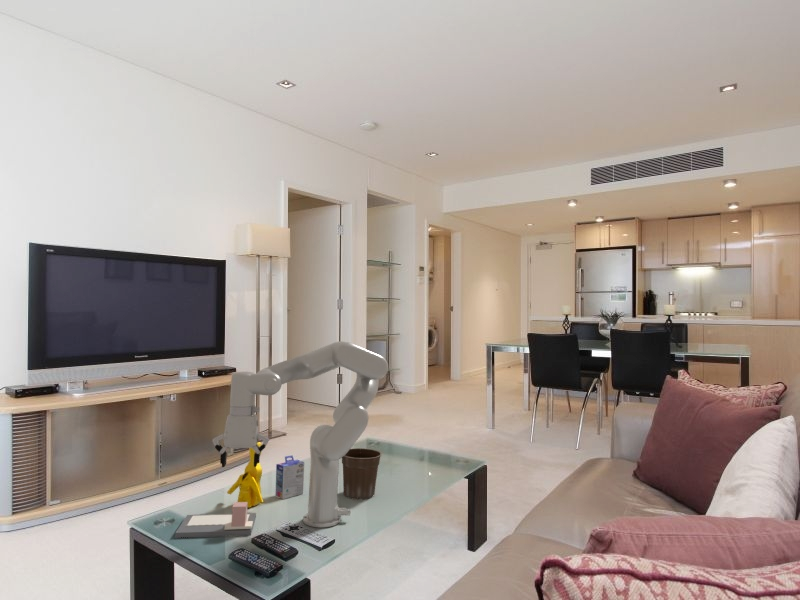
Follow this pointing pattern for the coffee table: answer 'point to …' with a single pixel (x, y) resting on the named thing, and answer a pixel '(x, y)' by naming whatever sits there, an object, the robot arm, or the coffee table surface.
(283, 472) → the ink cartridge box
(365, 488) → the plant pot
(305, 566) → the coffee table surface
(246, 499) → the figure statuette
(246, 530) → the board
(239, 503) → the stub
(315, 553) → the coffee table surface
